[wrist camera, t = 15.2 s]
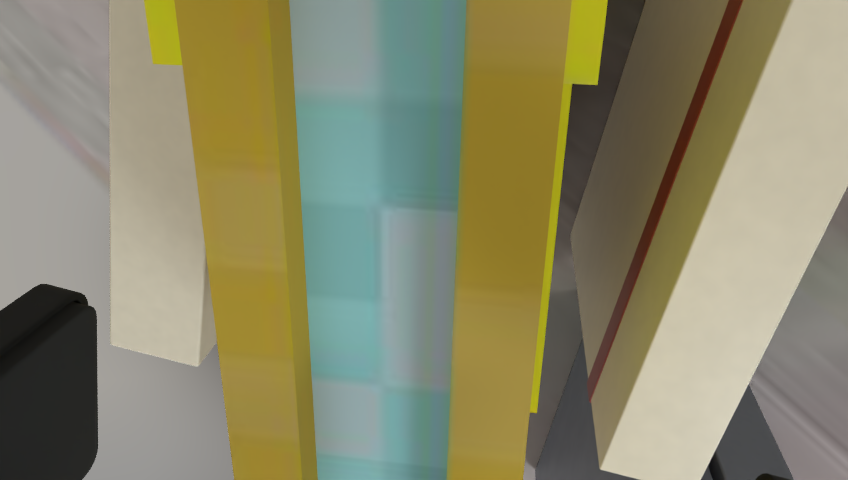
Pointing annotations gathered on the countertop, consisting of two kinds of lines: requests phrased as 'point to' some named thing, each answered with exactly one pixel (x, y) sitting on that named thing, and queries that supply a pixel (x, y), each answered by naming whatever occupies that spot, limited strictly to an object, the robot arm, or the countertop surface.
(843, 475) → the countertop surface
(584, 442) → the grey book
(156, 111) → the cream panel
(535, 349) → the book
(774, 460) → the grey book
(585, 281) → the cream book
